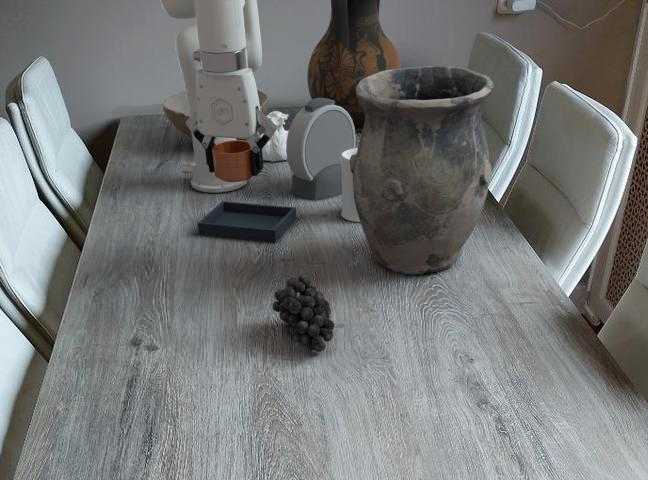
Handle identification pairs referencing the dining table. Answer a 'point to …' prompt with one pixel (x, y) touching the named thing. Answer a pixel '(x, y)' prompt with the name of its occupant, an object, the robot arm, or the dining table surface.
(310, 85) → the vase
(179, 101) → the bowl
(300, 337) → the fruit
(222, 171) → the small bowl
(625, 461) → the dining table surface
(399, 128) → the clay pot
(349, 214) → the mug
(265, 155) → the bust
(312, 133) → the alarm clock
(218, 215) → the tray
